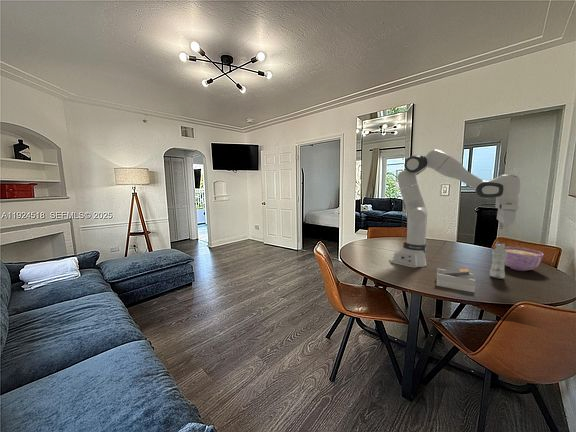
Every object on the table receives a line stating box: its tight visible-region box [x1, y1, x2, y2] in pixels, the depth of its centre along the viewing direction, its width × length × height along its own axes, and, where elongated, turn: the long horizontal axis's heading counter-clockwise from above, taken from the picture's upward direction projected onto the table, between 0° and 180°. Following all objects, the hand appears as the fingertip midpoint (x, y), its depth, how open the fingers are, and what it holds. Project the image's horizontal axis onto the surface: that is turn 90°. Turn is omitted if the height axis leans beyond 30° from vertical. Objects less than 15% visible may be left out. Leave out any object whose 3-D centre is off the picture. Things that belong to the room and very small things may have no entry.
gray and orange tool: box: [441, 268, 470, 276], centre depth 126 cm, size 12×6×2 cm, turn 57°
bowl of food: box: [504, 246, 544, 272], centre depth 148 cm, size 20×20×12 cm
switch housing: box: [435, 268, 476, 293], centre depth 126 cm, size 16×12×6 cm
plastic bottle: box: [489, 242, 507, 279], centre depth 134 cm, size 6×7×20 cm
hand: (503, 230), depth 129 cm, fingers open, 8 cm apart
